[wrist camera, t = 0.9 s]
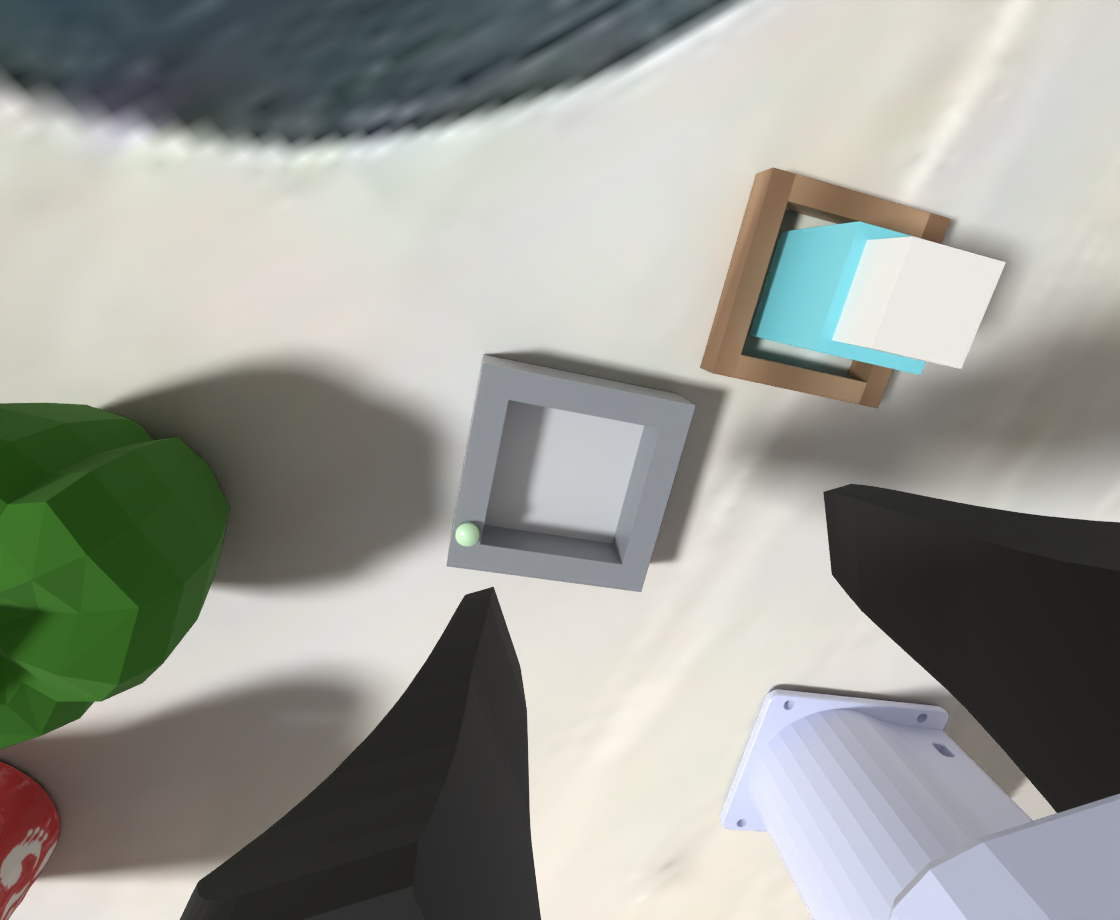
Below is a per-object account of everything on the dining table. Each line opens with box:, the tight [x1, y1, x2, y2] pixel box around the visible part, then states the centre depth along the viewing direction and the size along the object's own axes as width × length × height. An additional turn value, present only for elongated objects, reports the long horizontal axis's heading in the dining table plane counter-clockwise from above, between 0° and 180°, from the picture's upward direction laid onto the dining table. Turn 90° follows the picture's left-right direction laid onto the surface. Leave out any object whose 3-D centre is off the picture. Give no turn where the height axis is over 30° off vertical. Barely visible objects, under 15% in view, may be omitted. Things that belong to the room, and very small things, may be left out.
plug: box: [750, 221, 1006, 375], centre depth 18 cm, size 4×4×6 cm
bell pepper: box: [0, 403, 230, 749], centre depth 15 cm, size 8×8×10 cm
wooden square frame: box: [700, 168, 951, 408], centre depth 20 cm, size 7×7×1 cm
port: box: [447, 354, 695, 592], centre depth 20 cm, size 7×7×2 cm
